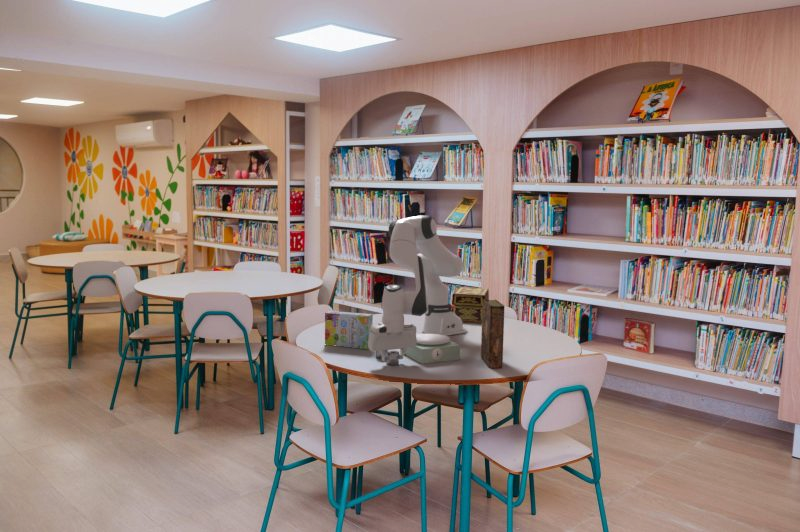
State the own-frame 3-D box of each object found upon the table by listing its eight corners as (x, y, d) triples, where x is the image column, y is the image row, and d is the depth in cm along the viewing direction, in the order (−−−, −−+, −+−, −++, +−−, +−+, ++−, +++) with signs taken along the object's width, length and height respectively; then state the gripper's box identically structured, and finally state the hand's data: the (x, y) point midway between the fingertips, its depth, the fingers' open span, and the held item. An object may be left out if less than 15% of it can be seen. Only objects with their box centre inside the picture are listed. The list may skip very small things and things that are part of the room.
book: (503, 368, 253) (505, 306, 250) (489, 368, 253) (491, 306, 250) (493, 357, 269) (495, 299, 266) (480, 357, 269) (482, 299, 266)
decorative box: (456, 312, 368) (457, 286, 366) (489, 313, 364) (490, 287, 362) (450, 321, 342) (450, 293, 340) (485, 323, 338) (485, 295, 336)
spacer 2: (395, 362, 261) (395, 349, 260) (400, 365, 256) (401, 352, 256) (384, 363, 258) (384, 351, 258) (389, 366, 254) (389, 354, 253)
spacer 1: (384, 355, 270) (384, 343, 270) (389, 358, 266) (389, 346, 265) (373, 356, 268) (373, 344, 268) (378, 359, 264) (378, 347, 263)
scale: (436, 348, 284) (437, 331, 283) (460, 359, 265) (461, 342, 264) (400, 351, 276) (400, 334, 275) (422, 364, 258) (422, 346, 257)
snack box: (372, 347, 284) (373, 313, 283) (368, 350, 279) (368, 316, 277) (329, 342, 291) (329, 310, 289) (324, 345, 286) (324, 312, 284)
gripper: (412, 322, 263) (412, 355, 264) (366, 326, 254) (366, 360, 256) (419, 325, 257) (419, 359, 259) (372, 329, 248) (372, 364, 250)
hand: (392, 359), depth 257 cm, fingers open, 6 cm apart
